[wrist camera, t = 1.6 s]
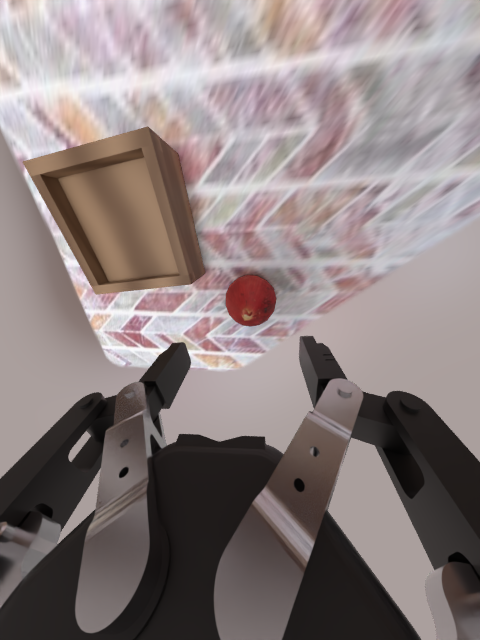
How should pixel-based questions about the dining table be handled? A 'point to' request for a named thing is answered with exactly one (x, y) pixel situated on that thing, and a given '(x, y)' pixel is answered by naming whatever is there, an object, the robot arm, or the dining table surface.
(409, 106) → the dining table surface
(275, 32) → the dining table surface
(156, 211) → the brown wooden tray
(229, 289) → the pomegranate
